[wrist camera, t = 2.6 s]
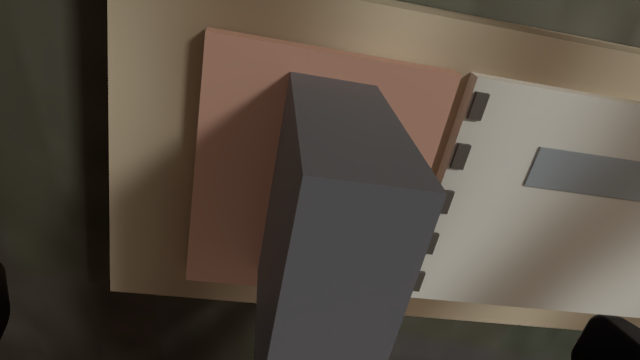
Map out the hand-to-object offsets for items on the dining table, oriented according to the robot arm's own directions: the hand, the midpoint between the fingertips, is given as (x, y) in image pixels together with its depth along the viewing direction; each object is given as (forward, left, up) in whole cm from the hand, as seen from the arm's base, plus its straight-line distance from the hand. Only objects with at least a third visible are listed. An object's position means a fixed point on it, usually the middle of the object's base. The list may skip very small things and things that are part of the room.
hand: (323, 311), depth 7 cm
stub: (0, 0, -4) cm, 4 cm away
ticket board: (+4, 0, -6) cm, 7 cm away
